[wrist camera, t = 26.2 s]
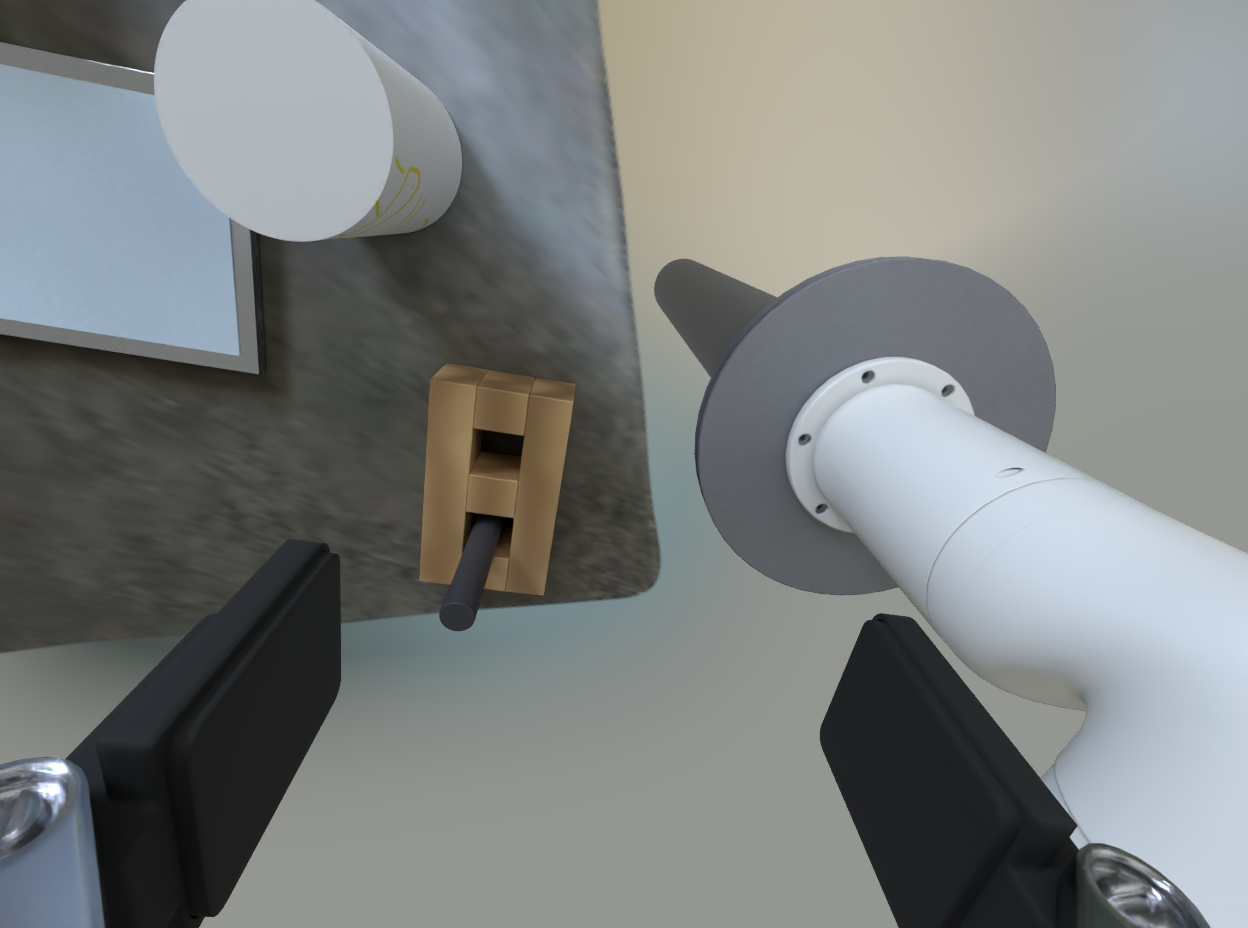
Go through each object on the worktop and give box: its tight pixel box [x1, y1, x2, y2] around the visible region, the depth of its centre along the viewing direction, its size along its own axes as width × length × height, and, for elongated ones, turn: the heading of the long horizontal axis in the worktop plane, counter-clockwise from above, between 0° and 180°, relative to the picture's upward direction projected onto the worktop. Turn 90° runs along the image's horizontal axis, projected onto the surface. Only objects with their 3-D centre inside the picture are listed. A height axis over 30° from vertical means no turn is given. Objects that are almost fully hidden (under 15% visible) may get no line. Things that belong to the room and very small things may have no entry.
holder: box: [419, 363, 576, 596], centre depth 38 cm, size 8×14×4 cm, turn 170°
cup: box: [154, 0, 462, 241], centre depth 26 cm, size 8×8×12 cm
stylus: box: [439, 513, 505, 631], centre depth 35 cm, size 2×2×12 cm
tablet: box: [0, 42, 266, 374], centre depth 32 cm, size 20×15×1 cm
